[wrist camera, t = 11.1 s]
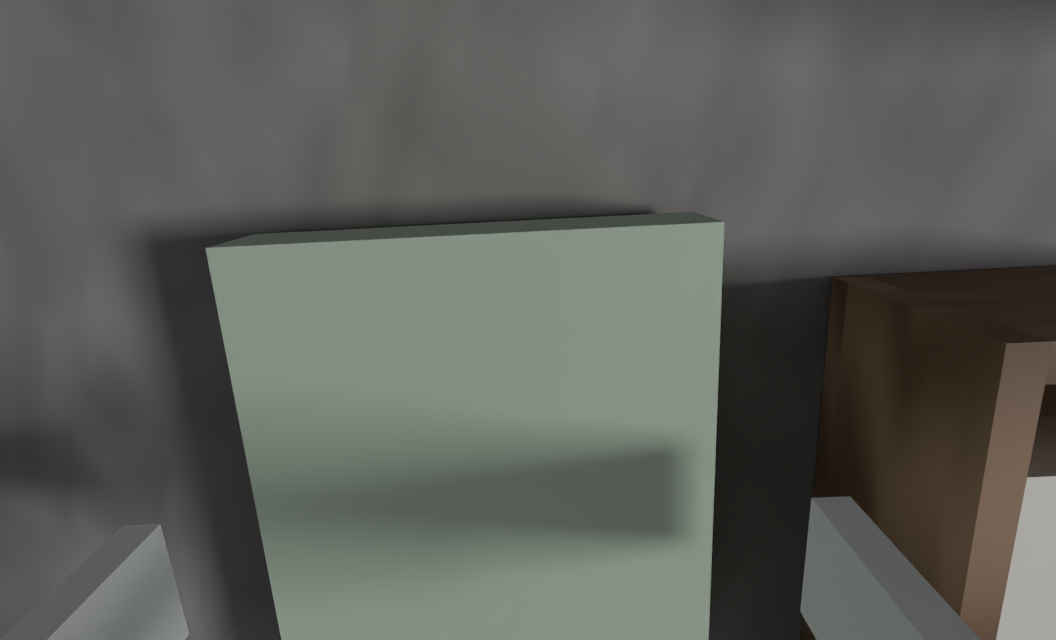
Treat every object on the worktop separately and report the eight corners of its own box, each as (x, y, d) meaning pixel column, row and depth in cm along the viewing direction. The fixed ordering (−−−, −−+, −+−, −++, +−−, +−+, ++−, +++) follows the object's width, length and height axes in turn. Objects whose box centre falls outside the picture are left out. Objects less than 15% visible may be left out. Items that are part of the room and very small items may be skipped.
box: (832, 276, 16) (1007, 343, 10) (1168, 260, 16) (1537, 317, 10) (796, 691, 20) (909, 913, 14) (1069, 679, 20) (1298, 898, 14)
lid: (271, 229, 16) (205, 247, 13) (682, 208, 16) (724, 221, 12) (340, 655, 20) (304, 755, 16) (674, 640, 19) (704, 738, 16)
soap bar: (926, 421, 16) (1012, 478, 13) (1072, 413, 16) (1191, 470, 13) (900, 604, 18) (973, 690, 15) (1034, 598, 18) (1134, 684, 15)
